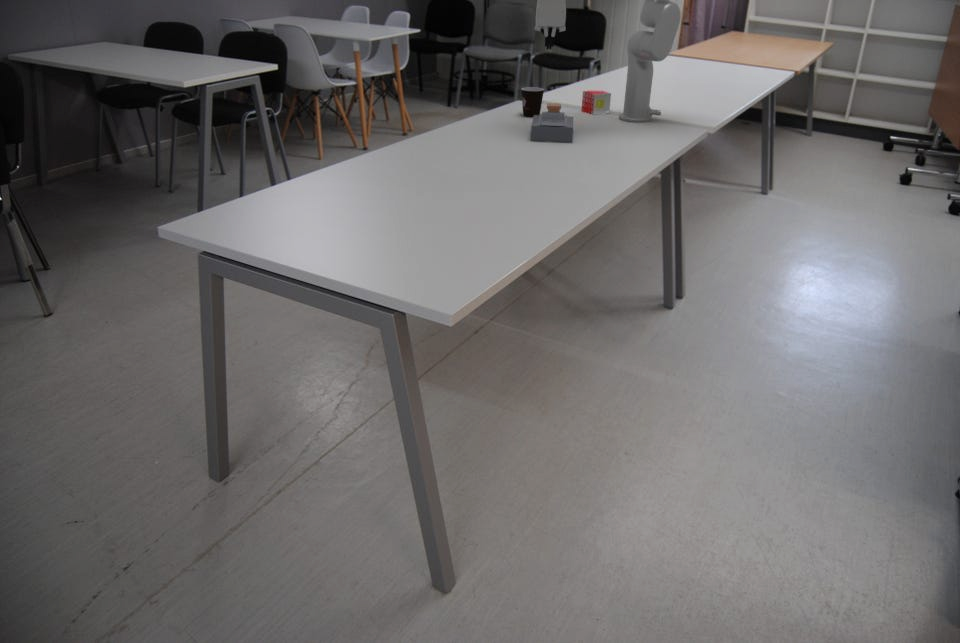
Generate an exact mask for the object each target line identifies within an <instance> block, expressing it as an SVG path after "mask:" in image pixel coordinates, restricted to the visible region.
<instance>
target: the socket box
mask: <svg viewBox="0 0 960 643" xmlns="http://www.w3.org/2000/svg"><path fill="white" fill-rule="evenodd" d="M541 120H542V113H540V115H534V117H533V118H532V121H531V126H530V127H531V128H530V142H546V141H551V143H553V142H554V143H570V142H572V143H573V138H574V116H568V115H567V114H564V126H549V125H541Z"/></svg>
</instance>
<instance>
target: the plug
mask: <svg viewBox="0 0 960 643" xmlns="http://www.w3.org/2000/svg"><path fill="white" fill-rule="evenodd" d="M546 109H547V112H561V109H562V103H552V102H551V103H550V102H548V103H546Z"/></svg>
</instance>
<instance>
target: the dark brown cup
mask: <svg viewBox="0 0 960 643" xmlns="http://www.w3.org/2000/svg"><path fill="white" fill-rule="evenodd" d="M520 90H521V91H520V92H521V103H522V105H521V106H522V116H523V117H524V118H532V117H534V115H540V114H541V109H542V105H543V97H544V92H545V89H544V88H543V87H542V88H541V87H534V86H527V87H522V88H521V89H520Z"/></svg>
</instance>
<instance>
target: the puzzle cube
mask: <svg viewBox="0 0 960 643" xmlns="http://www.w3.org/2000/svg"><path fill="white" fill-rule="evenodd" d="M611 98H612V92H609V91H604V90H602V89H601V90H600V89H595V90H583V91H582V100H581V112H582V111H583V112H582V113H585V112H586V113H585V114H588V113H589V115H591V114H593V115H592V116H595V115H594V114H599V115H604V114H603V113H606V111H609V112H610V111H611V110H610V108H611V100H612V99H611Z"/></svg>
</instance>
